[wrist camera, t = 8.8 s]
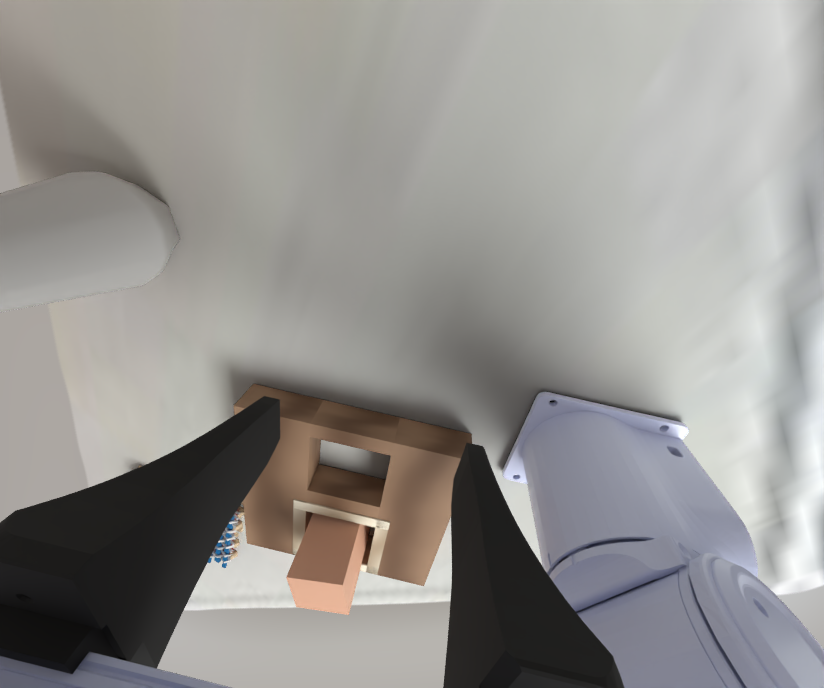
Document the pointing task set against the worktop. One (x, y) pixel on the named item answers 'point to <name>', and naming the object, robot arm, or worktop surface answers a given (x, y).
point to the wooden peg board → (355, 482)
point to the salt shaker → (80, 239)
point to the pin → (328, 564)
